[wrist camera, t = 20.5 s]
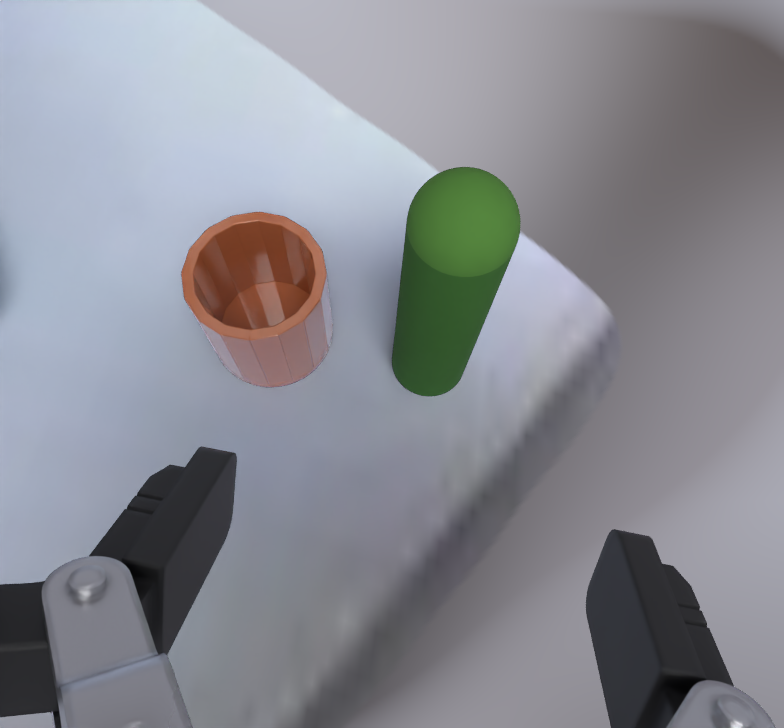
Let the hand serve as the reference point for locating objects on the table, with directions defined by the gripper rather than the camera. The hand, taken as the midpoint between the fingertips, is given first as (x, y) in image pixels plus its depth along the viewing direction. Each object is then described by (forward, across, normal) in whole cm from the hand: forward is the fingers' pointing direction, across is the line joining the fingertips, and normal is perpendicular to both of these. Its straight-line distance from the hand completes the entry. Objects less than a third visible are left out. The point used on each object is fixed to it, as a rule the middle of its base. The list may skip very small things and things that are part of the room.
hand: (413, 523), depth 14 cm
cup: (+20, +8, +5) cm, 23 cm away
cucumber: (+20, 0, +5) cm, 21 cm away
